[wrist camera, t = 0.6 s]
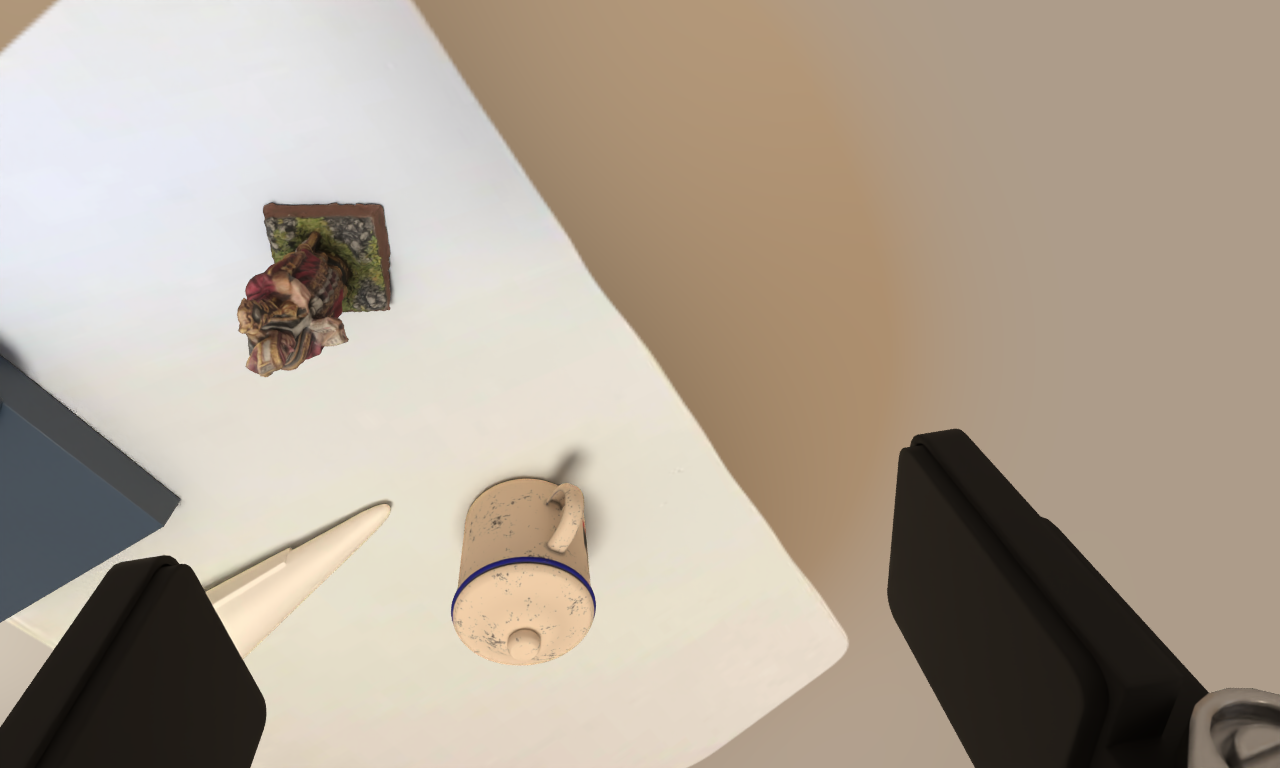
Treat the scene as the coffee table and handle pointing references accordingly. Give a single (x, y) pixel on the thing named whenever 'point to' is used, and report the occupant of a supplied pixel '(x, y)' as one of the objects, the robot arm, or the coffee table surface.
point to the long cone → (287, 580)
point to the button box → (63, 495)
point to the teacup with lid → (524, 573)
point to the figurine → (313, 281)
